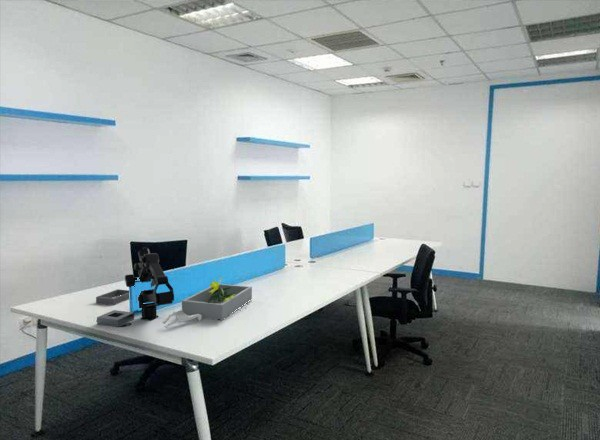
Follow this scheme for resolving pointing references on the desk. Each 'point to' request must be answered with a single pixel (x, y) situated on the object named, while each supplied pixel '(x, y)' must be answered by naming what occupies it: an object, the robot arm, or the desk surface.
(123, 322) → the housing
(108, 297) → the tray
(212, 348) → the desk surface
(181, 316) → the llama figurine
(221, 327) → the desk surface
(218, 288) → the daffodil flowers
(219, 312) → the planter
